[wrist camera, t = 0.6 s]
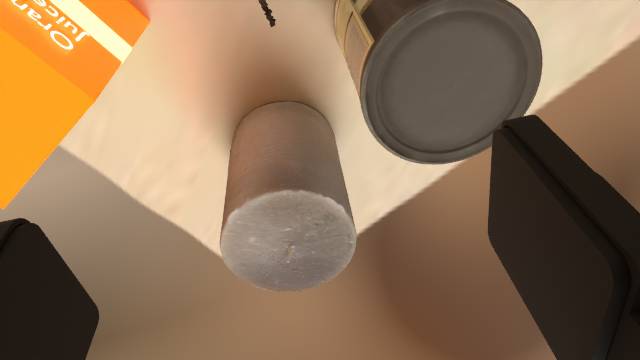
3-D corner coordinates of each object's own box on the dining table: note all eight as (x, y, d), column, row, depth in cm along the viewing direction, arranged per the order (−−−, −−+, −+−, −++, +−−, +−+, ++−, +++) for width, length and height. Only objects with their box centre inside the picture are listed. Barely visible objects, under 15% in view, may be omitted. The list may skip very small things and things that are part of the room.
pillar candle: (300, 201, 47) (312, 322, 35) (213, 161, 44) (192, 280, 31) (355, 129, 43) (390, 238, 31) (263, 78, 39) (262, 179, 27)
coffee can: (377, -83, 33) (436, -49, 22) (484, -11, 37) (582, 50, 25) (308, 43, 38) (327, 125, 26) (409, 95, 42) (463, 188, 30)
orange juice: (90, 83, 38) (-40, 254, 22) (-16, 0, 34) (-276, 135, 18) (152, 20, 36) (58, 159, 20) (46, -79, 31) (-189, -6, 15)
